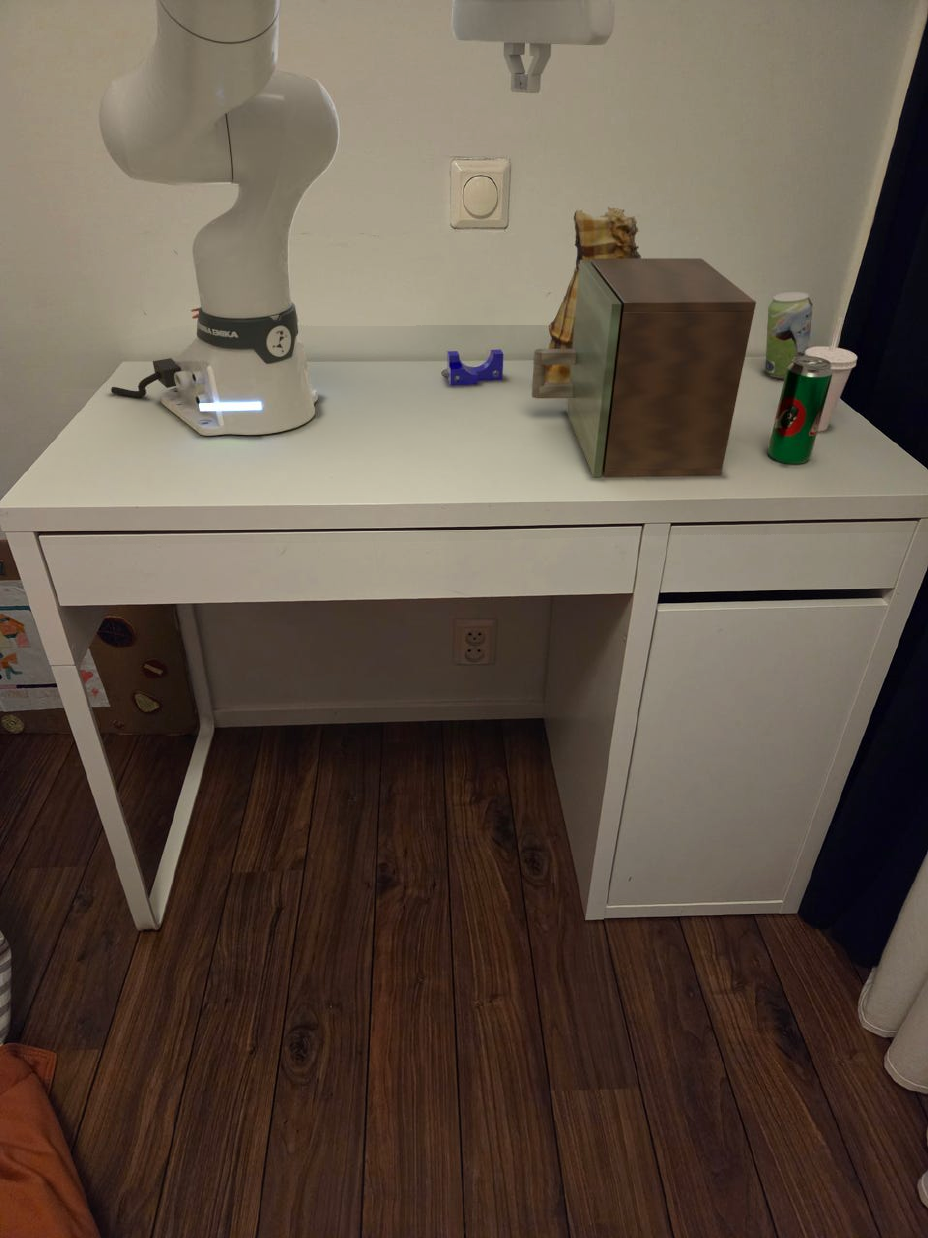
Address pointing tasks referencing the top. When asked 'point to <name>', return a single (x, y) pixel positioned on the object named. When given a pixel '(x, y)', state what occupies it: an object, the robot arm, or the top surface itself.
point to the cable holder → (474, 369)
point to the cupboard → (673, 366)
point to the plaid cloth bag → (592, 241)
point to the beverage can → (787, 331)
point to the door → (586, 365)
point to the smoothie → (834, 373)
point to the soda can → (800, 409)
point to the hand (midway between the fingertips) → (525, 92)
